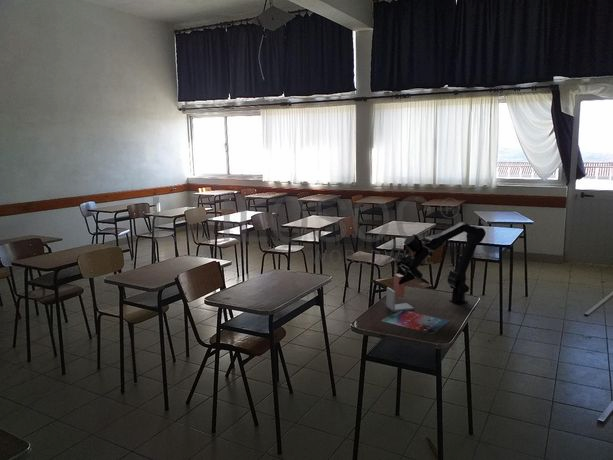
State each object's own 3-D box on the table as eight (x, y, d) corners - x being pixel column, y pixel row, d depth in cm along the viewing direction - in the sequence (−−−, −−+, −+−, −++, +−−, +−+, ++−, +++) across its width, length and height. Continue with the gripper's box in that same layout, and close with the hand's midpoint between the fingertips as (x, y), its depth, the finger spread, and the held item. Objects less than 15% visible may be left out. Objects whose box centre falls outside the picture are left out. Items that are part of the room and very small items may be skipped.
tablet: (400, 310, 228) (400, 308, 228) (450, 322, 213) (450, 320, 212) (379, 322, 214) (379, 320, 214) (432, 336, 198) (432, 334, 198)
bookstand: (406, 304, 234) (407, 285, 233) (413, 309, 228) (414, 289, 226) (386, 307, 231) (386, 287, 229) (392, 312, 225) (393, 291, 223)
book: (399, 293, 231) (399, 273, 229) (404, 296, 226) (404, 276, 224) (393, 294, 230) (394, 274, 228) (398, 297, 225) (398, 276, 223)
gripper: (398, 243, 234) (377, 266, 233) (417, 251, 216) (394, 277, 215) (412, 257, 237) (391, 280, 236) (432, 267, 220) (410, 292, 219)
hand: (396, 282), depth 226 cm, fingers closed on book, 5 cm apart
